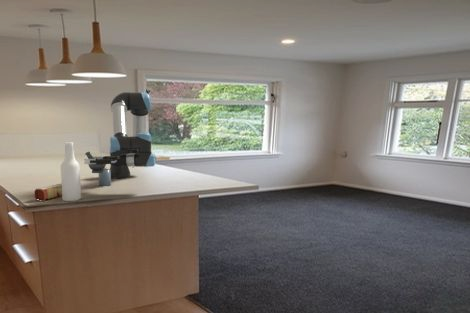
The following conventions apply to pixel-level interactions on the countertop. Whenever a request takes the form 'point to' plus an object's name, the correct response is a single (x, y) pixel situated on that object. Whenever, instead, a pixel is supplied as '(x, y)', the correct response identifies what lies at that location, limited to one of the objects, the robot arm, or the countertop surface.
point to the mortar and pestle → (95, 167)
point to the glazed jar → (105, 177)
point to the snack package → (48, 192)
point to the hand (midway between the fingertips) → (87, 160)
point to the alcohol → (70, 175)
